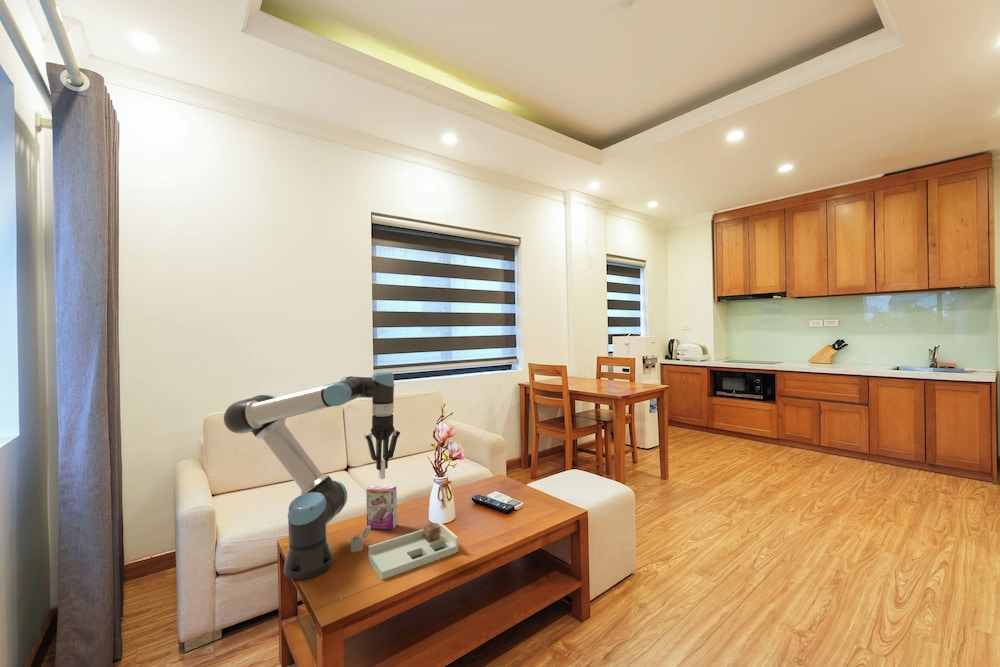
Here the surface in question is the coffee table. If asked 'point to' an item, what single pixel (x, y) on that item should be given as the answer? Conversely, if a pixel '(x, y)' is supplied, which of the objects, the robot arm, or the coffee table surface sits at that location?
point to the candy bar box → (381, 507)
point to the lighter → (359, 540)
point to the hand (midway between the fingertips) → (381, 477)
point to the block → (431, 532)
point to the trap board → (410, 552)
